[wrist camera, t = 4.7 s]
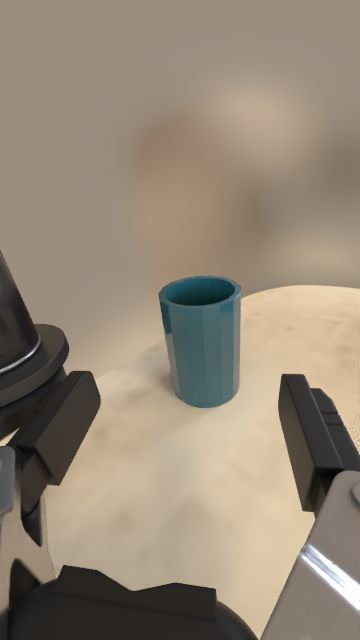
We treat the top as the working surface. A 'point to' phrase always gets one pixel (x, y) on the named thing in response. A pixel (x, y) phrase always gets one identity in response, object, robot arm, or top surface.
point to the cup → (203, 338)
